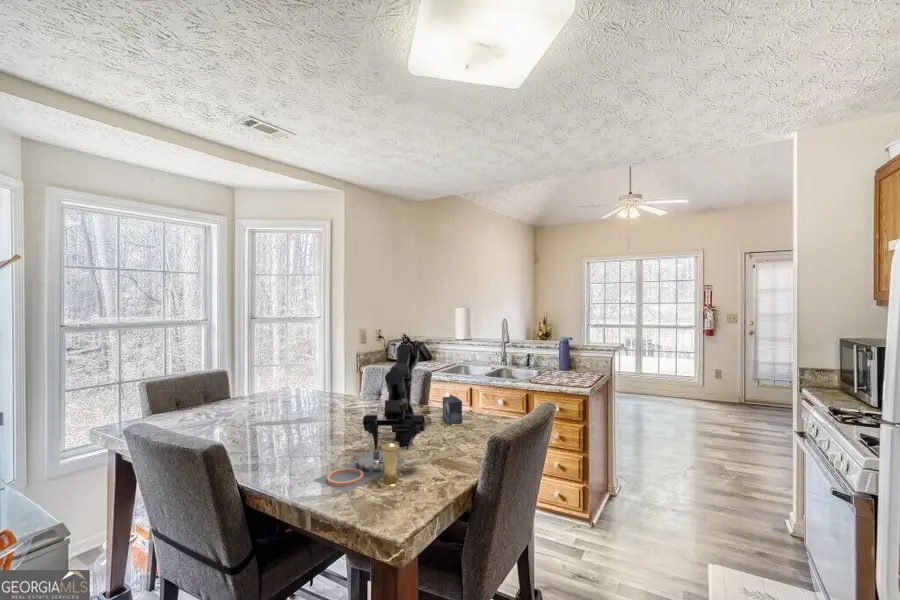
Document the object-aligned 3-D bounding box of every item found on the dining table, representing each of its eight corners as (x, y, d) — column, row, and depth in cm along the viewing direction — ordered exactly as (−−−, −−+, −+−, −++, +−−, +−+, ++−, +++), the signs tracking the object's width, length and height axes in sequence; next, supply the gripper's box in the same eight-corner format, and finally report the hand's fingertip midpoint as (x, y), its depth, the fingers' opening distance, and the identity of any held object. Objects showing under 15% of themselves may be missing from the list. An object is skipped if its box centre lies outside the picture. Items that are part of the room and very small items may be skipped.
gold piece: (389, 481, 124) (389, 437, 124) (407, 486, 120) (407, 441, 120) (372, 489, 118) (372, 444, 118) (391, 495, 114) (391, 448, 114)
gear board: (375, 457, 143) (375, 450, 143) (407, 466, 135) (407, 458, 135) (313, 485, 121) (313, 476, 121) (346, 497, 113) (346, 488, 113)
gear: (375, 453, 142) (375, 442, 142) (405, 461, 135) (405, 449, 135) (345, 466, 131) (345, 453, 131) (377, 476, 124) (377, 462, 124)
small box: (441, 419, 189) (441, 396, 189) (455, 418, 191) (455, 395, 191) (448, 426, 179) (448, 402, 179) (462, 425, 181) (462, 400, 181)
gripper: (363, 388, 128) (355, 435, 116) (424, 388, 128) (421, 436, 116) (369, 408, 135) (361, 454, 124) (426, 408, 135) (423, 454, 124)
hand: (391, 449), depth 122 cm, fingers open, 9 cm apart
